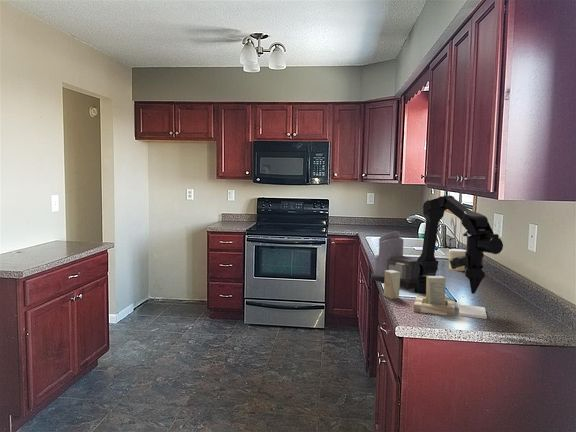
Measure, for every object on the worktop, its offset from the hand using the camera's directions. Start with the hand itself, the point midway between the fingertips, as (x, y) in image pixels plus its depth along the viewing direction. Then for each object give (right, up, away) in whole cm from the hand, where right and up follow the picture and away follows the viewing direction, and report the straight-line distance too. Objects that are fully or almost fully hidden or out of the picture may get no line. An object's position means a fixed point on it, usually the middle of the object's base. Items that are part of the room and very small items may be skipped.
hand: (472, 292), depth 162 cm
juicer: (-17, -4, +48) cm, 51 cm away
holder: (-12, -7, +5) cm, 15 cm away
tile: (0, -8, +1) cm, 8 cm away
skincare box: (-12, -7, +5) cm, 15 cm away
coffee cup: (+23, -3, +77) cm, 81 cm away
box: (-25, -6, +20) cm, 33 cm away
